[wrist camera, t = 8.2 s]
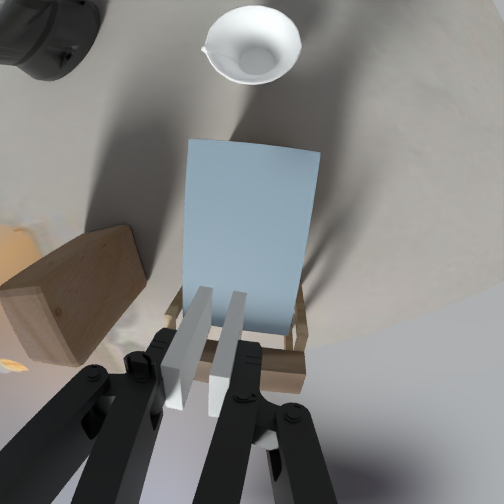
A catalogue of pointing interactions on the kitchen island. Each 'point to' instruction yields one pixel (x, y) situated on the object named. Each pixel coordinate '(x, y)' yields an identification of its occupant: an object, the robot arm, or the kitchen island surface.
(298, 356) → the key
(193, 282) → the lid
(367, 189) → the kitchen island surface
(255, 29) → the cup
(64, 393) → the robot arm
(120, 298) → the wooden block
